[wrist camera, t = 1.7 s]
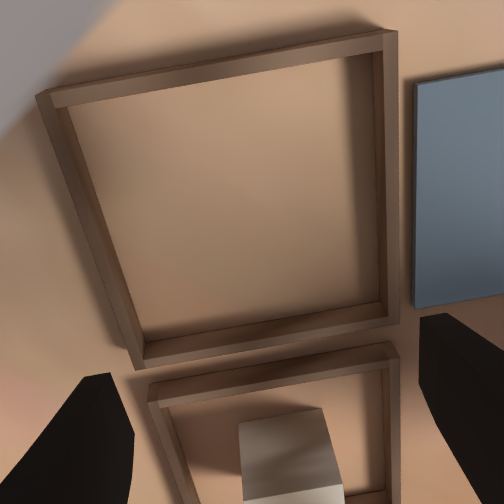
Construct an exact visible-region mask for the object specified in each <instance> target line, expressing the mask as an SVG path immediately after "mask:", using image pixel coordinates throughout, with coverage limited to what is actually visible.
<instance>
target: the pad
mask: <svg viewBox="0 0 504 504" xmlns="http://www.w3.org/2000/svg"><path fill="white" fill-rule="evenodd" d="M499 294H504V68H498V69H493V70H487V71H481V72H476V73H470V74H465V75H459V76H453V77H448V78H442V79H436V80H431V81H425V82H420V83H414V100H413V212H412V306H413V307H414V309H421V308H426V307H432V306H437V305H443V304H449V303H454V302H460V301H466V300H471V299H477V298H483V297H488V296H494V295H499Z"/></svg>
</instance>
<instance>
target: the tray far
mask: <svg viewBox="0 0 504 504" xmlns="http://www.w3.org/2000/svg"><path fill="white" fill-rule="evenodd" d="M379 369H382V388H383V420H384V453H385V486H386V490H383V491H377V492H372V493H366V494H360V495H355V496H349V497H344V500H345V504H401V441H400V357H399V355H398V353H397V351H396V349H395V347H394V346H393V344H392V342H391V341H390V342H385V343H379V344H373V345H368V346H362V347H357V348H351V349H345V350H340V351H334V352H328V353H323V354H317V355H311V356H306V357H300V358H295V359H289V360H283V361H278V362H272V363H266V364H261V365H255V366H249V367H244V368H238V369H232V370H227V371H221V372H216V373H210V374H204V375H199V376H193V377H187V378H182V379H176V380H170V381H165V382H159V383H153V384H150V385H149V391H148V398H147V405H148V407H149V410H150V413H151V415H152V418H153V421H154V424H155V426H156V429H157V432H158V435H159V437H160V440H161V443H162V446H163V448H164V451H165V454H166V456H167V459H168V462H169V465H170V467H171V470H172V473H173V476H174V478H175V481H176V484H177V487H178V489H179V492H180V495H181V498H182V500H183V503H184V504H201V503H200V500H199V497H198V494H197V492H196V489H195V486H194V483H193V480H192V477H191V474H190V471H189V468H188V465H187V462H186V459H185V456H184V453H183V450H182V447H181V444H180V441H179V438H178V435H177V432H176V429H175V426H174V423H173V420H172V417H171V415H170V412H169V409H168V407H170V406H176V405H181V404H187V403H193V402H198V401H204V400H210V399H215V398H221V397H227V396H232V395H238V394H244V393H249V392H255V391H260V390H266V389H272V388H277V387H283V386H289V385H294V384H300V383H306V382H311V381H317V380H323V379H328V378H334V377H339V376H345V375H351V374H356V373H362V372H368V371H373V370H379Z"/></svg>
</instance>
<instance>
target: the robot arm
mask: <svg viewBox="0 0 504 504" xmlns="http://www.w3.org/2000/svg"><path fill="white" fill-rule="evenodd" d="M419 385H420V388H421V390H422V393H423V395H424V398H425V400H426V402H427V405H428V407H429V409H430V412H431V414H432V416H433V418H434V421H435V423H436V425H437V427H438V428H439V430H440V432H441V434H442V436H443V437H444V439H445V441H446V443H447V444H448V446H449V448H450V450H451V451H452V453H453V455H454V457H455V458H456V460H457V462H458V463H459V465H460V467H461V469H462V470H463V472H464V474H465V475H466V477H467V479H468V481H469V482H470V484H471V486H472V488H473V489H474V491H475V493H476V494H477V496H478V498H479V500H480V501H481V503H482V504H504V351H503V350H501V349H500V348H498V347H497V346H495V345H494V344H492V343H491V342H489V341H488V340H486V339H485V338H483V337H482V336H480V335H479V334H477V333H476V332H474V331H473V330H471V329H470V328H469V327H467V326H466V325H464V324H463V323H461V322H460V321H458V320H457V319H455V318H454V317H452V316H451V315H449V314H447V313H442V314H436V315H430V316H425V317H420V336H419ZM134 437H135V433H134V431H133V428H132V426H131V423H130V421H129V418H128V416H127V413H126V411H125V408H124V406H123V403H122V401H121V398H120V396H119V393H118V391H117V388H116V386H115V383H114V381H113V378H112V376H111V373H110V372H109V373H103V374H97V375H92V376H86V377H84V378H83V379H82V380H81V381H80V383H79V384H78V385H77V387H76V388H75V389H74V391H73V392H72V393H71V395H70V396H69V397H68V399H67V400H66V401H65V403H64V404H63V405H62V407H61V408H60V409H59V411H58V412H57V413H56V415H55V416H54V417H53V419H52V420H51V421H50V423H49V424H48V425H47V427H46V428H45V429H44V430H43V432H42V433H41V434H40V436H39V437H38V438H37V439H36V441H35V442H34V443H33V445H32V446H31V447H30V448H29V450H28V451H27V452H26V454H25V455H24V456H23V457H22V459H21V460H20V461H19V462H18V463H17V465H16V466H15V467H14V468H13V469H12V470H11V472H10V473H9V474H8V475H7V476H6V478H5V479H4V480H3V481H2V482H1V484H0V504H127V502H128V497H129V491H130V485H131V480H132V469H133V456H134Z"/></svg>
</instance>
